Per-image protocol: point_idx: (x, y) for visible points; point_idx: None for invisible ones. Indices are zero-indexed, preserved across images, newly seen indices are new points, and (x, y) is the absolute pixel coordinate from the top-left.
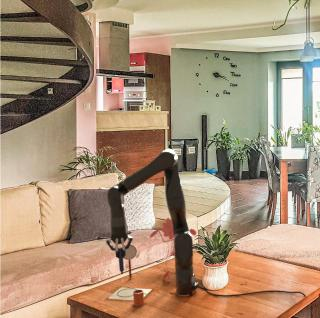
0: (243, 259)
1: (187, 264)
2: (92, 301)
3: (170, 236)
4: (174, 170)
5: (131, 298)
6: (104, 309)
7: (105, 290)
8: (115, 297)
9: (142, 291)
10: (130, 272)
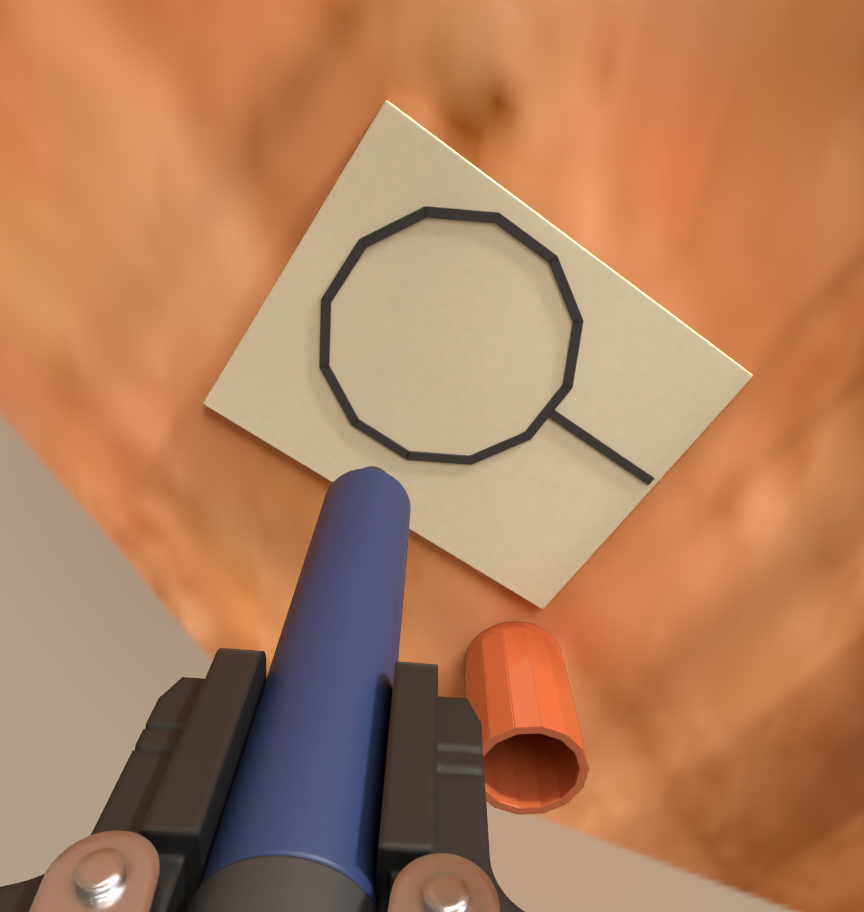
0: None
1: None
2: (32, 371)
3: None
4: None
5: (466, 522)
6: (184, 613)
7: (166, 69)
8: (295, 419)
9: (573, 789)
10: None
